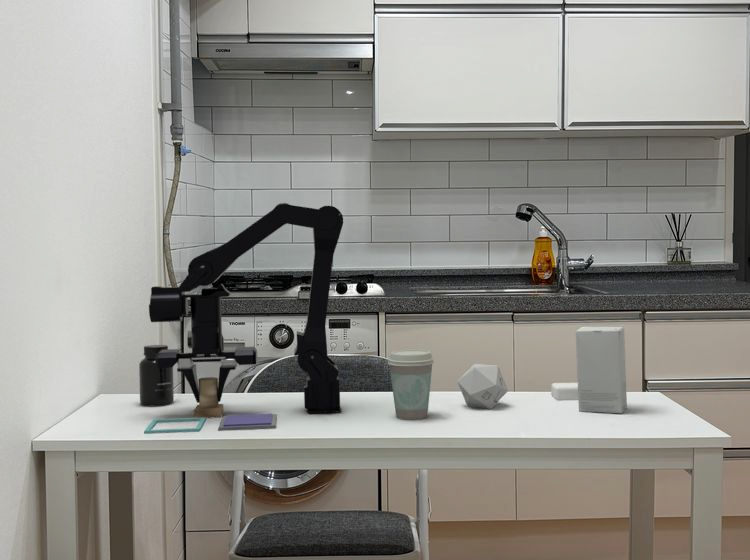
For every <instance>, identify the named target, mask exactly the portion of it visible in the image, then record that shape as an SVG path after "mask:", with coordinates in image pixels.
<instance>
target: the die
mask: <svg viewBox="0 0 750 560" xmlns="http://www.w3.org/2000/svg"><path fill="white" fill-rule="evenodd" d="M456 382H457V385H458V387H459V389H460V391H461V393H462V396H463V399H464V402H465V404H466V406H467V407H472V408H479V409H480V408H482V409H488V410H492V409H493V408H494V406H496V404H497V403H498V402H499V401H500V400H501V399H502V398H503V397H505V395H506V394H507V393H508V392H509V390H508V386H507V384H506V381H505V379H504V376H503V374H502V372H501V369H500V367H499V365H494V364H483V363H481V364H480V363H474V364H473V365H472V366H471V367H469V368H468V370H466V372H465V373H464V374H463V375H462V376H461V377H460V378H459V379H458V380H457V381H456Z"/></svg>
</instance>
